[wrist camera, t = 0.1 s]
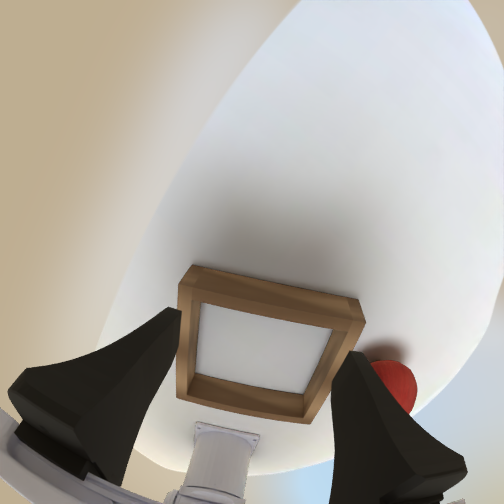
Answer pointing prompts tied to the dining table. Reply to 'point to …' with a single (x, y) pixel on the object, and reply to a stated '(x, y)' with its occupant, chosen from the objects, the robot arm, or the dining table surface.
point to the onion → (398, 382)
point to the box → (274, 306)
